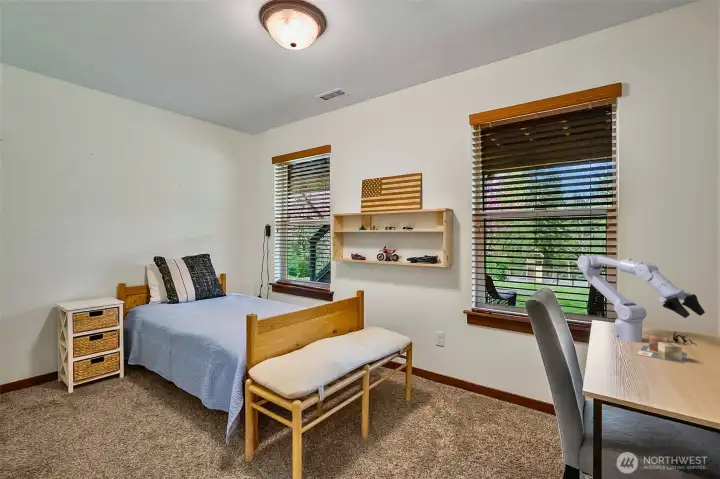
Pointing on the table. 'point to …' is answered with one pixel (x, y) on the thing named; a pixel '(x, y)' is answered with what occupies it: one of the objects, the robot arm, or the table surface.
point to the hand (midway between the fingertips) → (695, 315)
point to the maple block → (670, 351)
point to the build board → (652, 354)
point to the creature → (682, 339)
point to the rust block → (656, 342)
